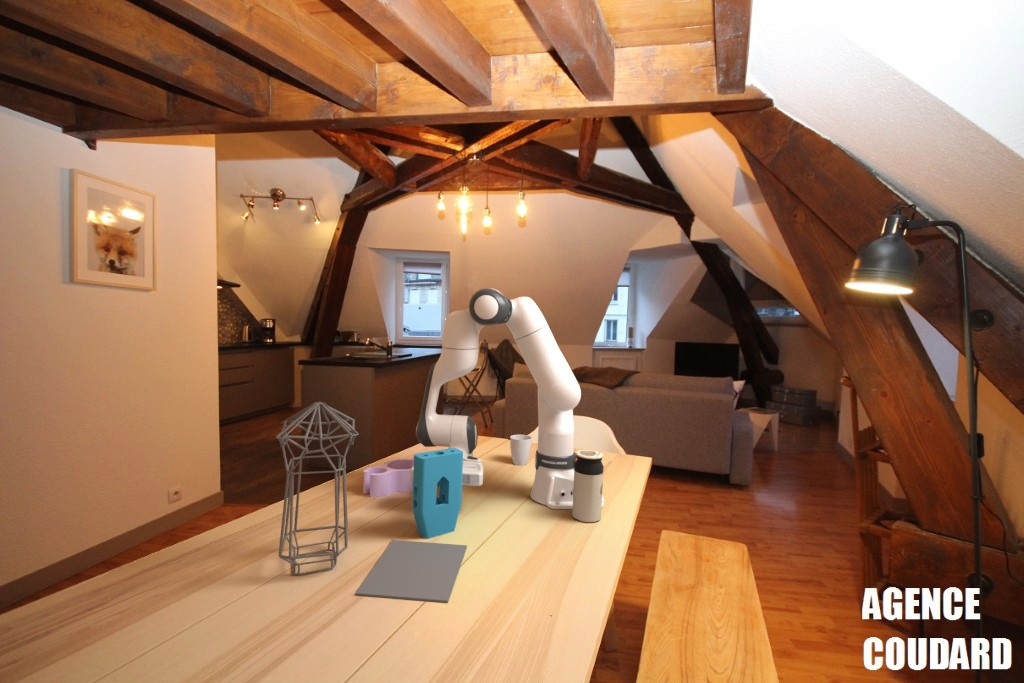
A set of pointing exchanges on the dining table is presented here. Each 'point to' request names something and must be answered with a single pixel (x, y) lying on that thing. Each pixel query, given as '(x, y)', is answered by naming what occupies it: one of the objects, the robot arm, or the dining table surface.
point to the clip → (388, 478)
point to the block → (428, 509)
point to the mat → (415, 571)
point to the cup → (520, 448)
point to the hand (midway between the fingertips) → (441, 483)
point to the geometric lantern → (351, 434)
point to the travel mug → (588, 486)
